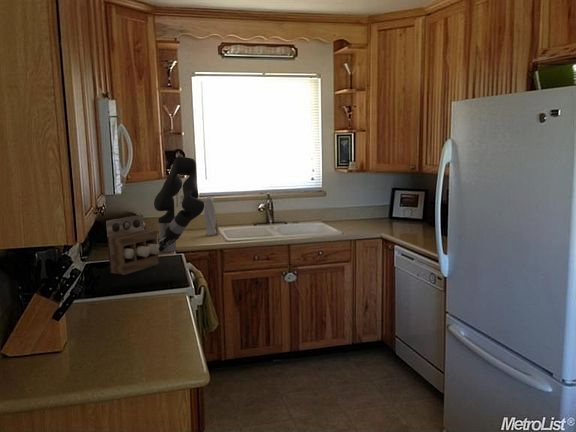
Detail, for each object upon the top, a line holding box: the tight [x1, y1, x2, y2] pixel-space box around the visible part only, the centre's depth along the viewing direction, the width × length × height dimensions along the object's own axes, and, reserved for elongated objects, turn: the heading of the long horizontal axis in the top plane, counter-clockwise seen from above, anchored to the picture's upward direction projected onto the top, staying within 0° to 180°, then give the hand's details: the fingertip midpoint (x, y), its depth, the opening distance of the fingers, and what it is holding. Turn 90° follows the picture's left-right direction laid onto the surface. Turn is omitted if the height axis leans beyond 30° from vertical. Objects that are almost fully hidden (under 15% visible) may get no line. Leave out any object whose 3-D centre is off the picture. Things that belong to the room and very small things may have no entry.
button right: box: [146, 243, 160, 255], centre depth 255 cm, size 7×5×5 cm
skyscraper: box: [202, 194, 220, 237], centre depth 343 cm, size 8×8×28 cm
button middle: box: [136, 246, 150, 257], centre depth 249 cm, size 7×5×5 cm
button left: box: [124, 248, 134, 259], centre depth 246 cm, size 7×5×5 cm
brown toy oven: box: [105, 214, 160, 276], centre depth 252 cm, size 10×23×26 cm, turn 148°
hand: (160, 250), depth 252 cm, fingers closed
